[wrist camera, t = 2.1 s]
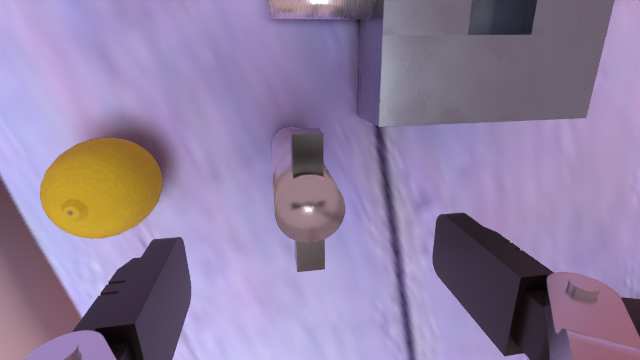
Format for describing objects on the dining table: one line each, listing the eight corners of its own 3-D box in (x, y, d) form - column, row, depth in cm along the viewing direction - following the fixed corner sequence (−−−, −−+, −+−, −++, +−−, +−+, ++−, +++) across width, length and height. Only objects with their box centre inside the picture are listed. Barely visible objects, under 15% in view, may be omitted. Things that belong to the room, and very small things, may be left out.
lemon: (164, 122, 23) (113, 149, 15) (184, 197, 24) (147, 254, 17) (78, 133, 22) (-20, 166, 14) (105, 209, 24) (30, 273, 16)
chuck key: (308, 103, 24) (345, 134, 12) (310, 182, 26) (344, 272, 14) (268, 104, 23) (270, 137, 12) (274, 185, 25) (279, 279, 14)
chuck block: (569, -107, 22) (651, -156, 17) (529, 109, 26) (585, 118, 22) (261, -127, 19) (258, -190, 14) (275, 118, 24) (277, 130, 19)
